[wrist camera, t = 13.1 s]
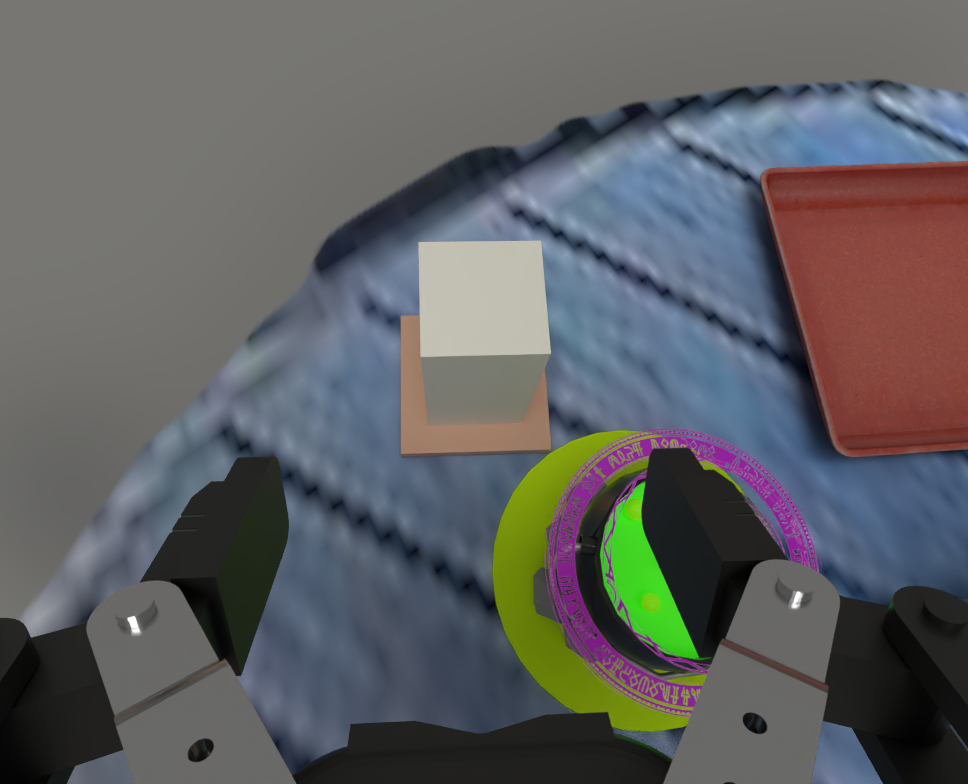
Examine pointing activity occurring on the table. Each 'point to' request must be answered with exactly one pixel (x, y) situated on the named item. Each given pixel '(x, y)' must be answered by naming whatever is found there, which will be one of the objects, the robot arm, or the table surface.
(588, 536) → the toy cauldron
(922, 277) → the plant saucer
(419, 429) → the coaster
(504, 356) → the plain off-white block
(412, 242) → the table surface
